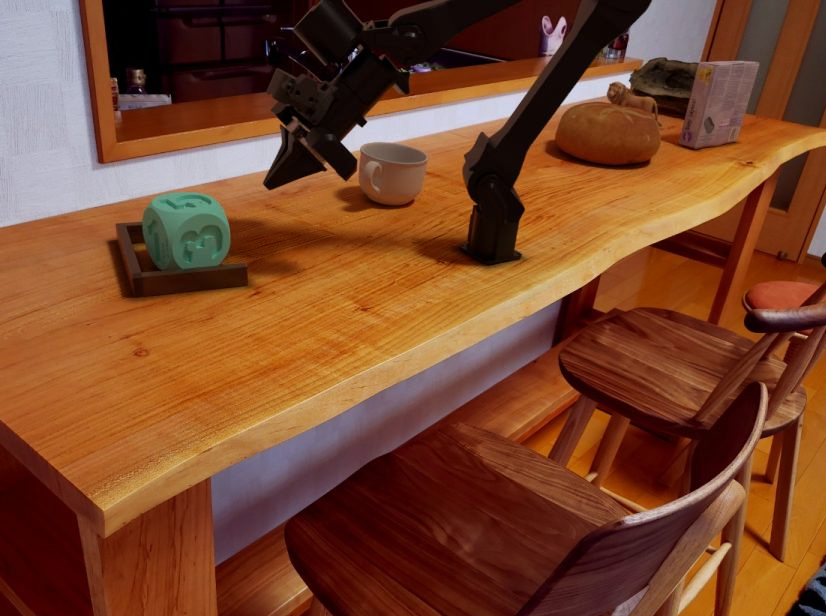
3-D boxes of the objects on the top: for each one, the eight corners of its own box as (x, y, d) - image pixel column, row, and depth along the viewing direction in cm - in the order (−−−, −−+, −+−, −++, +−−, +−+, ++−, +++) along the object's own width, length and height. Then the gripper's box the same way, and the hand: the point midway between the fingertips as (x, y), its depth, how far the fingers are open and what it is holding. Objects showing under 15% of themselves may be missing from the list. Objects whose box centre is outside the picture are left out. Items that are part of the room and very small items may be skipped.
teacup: (385, 184, 128) (389, 137, 124) (437, 201, 122) (442, 152, 118) (330, 202, 118) (331, 151, 114) (383, 220, 113) (386, 168, 109)
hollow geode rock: (721, 143, 192) (755, 97, 192) (714, 111, 182) (750, 62, 183) (629, 115, 210) (661, 73, 210) (618, 85, 200) (651, 40, 200)
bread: (686, 168, 151) (701, 117, 146) (590, 173, 143) (601, 120, 138) (617, 138, 169) (627, 92, 164) (528, 141, 161) (536, 93, 156)
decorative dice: (144, 258, 95) (138, 197, 91) (202, 246, 99) (199, 187, 95) (173, 281, 90) (167, 217, 86) (232, 267, 94) (230, 206, 90)
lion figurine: (598, 120, 184) (607, 81, 180) (604, 116, 188) (612, 79, 184) (659, 130, 179) (669, 91, 174) (663, 126, 183) (673, 88, 178)
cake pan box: (721, 136, 178) (744, 57, 169) (740, 141, 175) (765, 61, 166) (675, 145, 168) (697, 61, 158) (694, 150, 164) (718, 65, 155)
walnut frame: (217, 233, 104) (216, 216, 103) (248, 285, 90) (247, 266, 89) (117, 241, 99) (115, 223, 98) (134, 297, 85) (131, 277, 84)
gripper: (286, 32, 95) (202, 124, 96) (335, 59, 80) (236, 166, 82) (342, 96, 102) (263, 180, 103) (397, 131, 87) (304, 228, 89)
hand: (265, 187), depth 94 cm, fingers closed
